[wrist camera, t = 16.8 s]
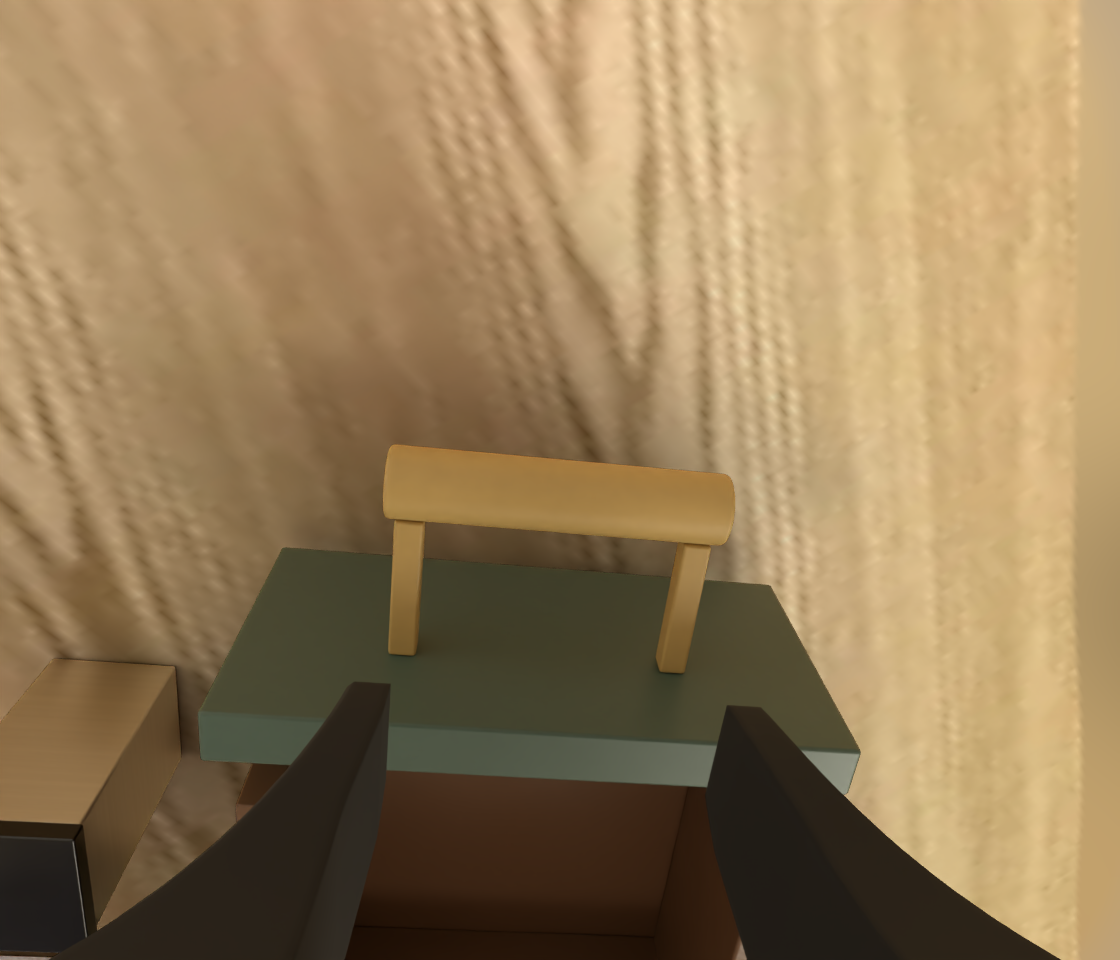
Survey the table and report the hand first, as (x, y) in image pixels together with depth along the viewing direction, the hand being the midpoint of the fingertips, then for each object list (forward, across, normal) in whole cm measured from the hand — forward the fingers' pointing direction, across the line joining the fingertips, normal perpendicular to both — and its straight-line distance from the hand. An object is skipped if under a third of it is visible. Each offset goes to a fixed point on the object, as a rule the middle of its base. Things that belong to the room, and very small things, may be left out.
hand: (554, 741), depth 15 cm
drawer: (+9, 0, +6) cm, 10 cm away
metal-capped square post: (+9, +12, +8) cm, 17 cm away
